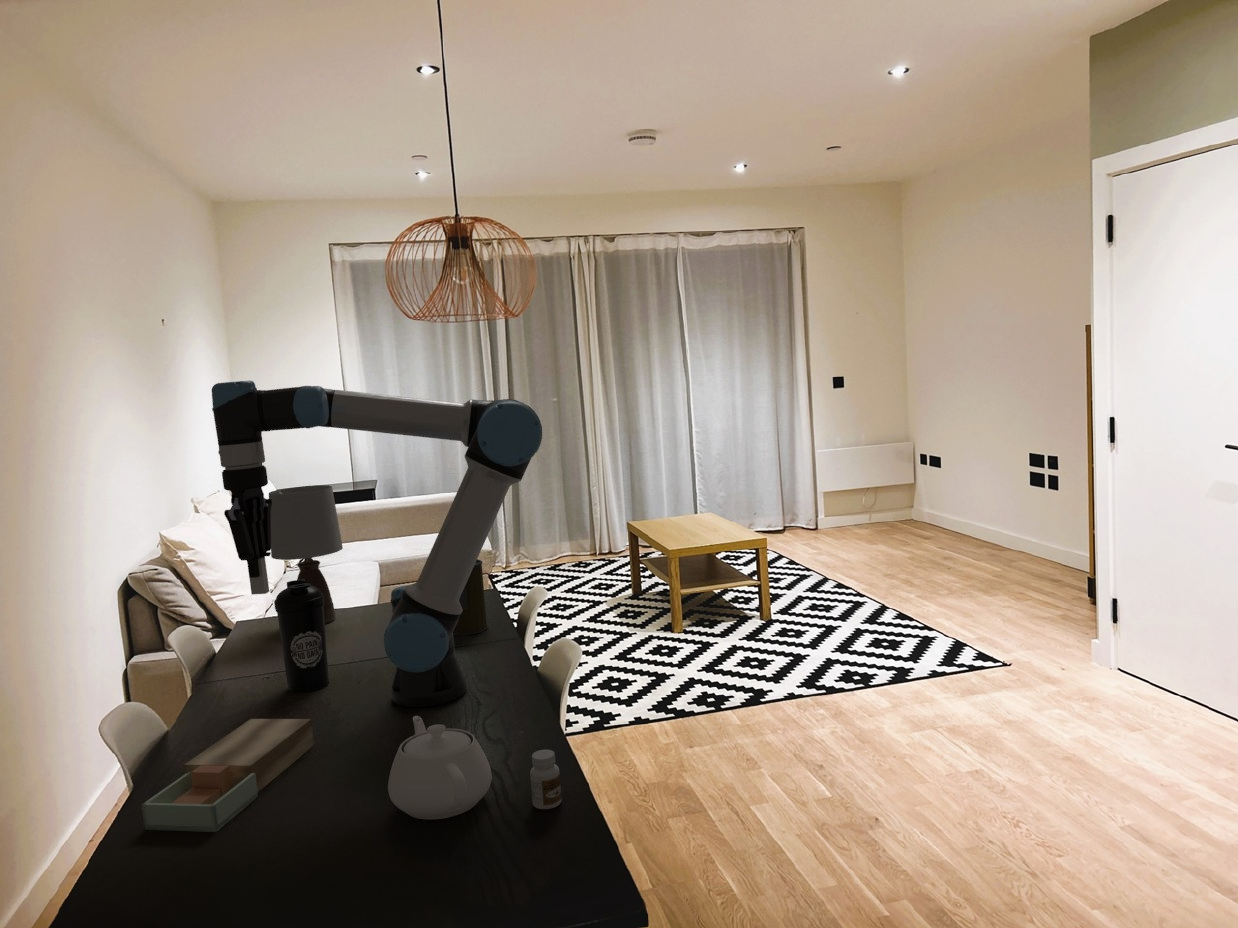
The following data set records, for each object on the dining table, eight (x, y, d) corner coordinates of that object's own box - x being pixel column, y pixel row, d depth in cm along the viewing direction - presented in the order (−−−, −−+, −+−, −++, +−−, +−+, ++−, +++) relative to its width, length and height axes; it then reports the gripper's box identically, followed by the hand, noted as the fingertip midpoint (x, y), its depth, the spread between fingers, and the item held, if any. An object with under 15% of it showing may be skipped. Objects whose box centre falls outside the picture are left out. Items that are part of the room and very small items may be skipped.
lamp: (363, 613, 257) (350, 484, 253) (317, 633, 240) (302, 494, 236) (312, 610, 265) (299, 484, 261) (264, 629, 248) (248, 495, 244)
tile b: (199, 804, 138) (201, 820, 138) (220, 788, 143) (221, 804, 143) (170, 803, 139) (172, 819, 139) (191, 788, 144) (193, 803, 144)
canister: (448, 626, 239) (441, 551, 237) (488, 622, 240) (482, 547, 238) (445, 638, 228) (438, 559, 226) (487, 633, 229) (480, 555, 227)
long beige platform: (313, 745, 166) (311, 718, 165) (254, 794, 147) (250, 765, 147) (254, 744, 168) (250, 718, 167) (187, 793, 149) (184, 764, 149)
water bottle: (287, 697, 192) (275, 591, 190) (281, 684, 201) (269, 582, 199) (337, 687, 197) (325, 582, 194) (328, 674, 206) (317, 574, 203)
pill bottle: (550, 812, 135) (546, 762, 134) (526, 806, 137) (522, 757, 136) (567, 799, 138) (563, 750, 137) (544, 794, 141) (540, 745, 140)
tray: (258, 796, 147) (255, 772, 146) (216, 831, 136) (213, 806, 135) (191, 795, 149) (188, 771, 148) (145, 829, 138) (141, 804, 138)
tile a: (229, 765, 145) (219, 772, 143) (232, 795, 146) (223, 802, 143) (200, 765, 146) (190, 772, 144) (204, 794, 147) (194, 802, 144)
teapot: (516, 821, 133) (510, 740, 132) (410, 851, 126) (403, 766, 125) (464, 760, 155) (459, 690, 154) (372, 783, 148) (366, 710, 147)
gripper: (242, 463, 173) (259, 585, 175) (204, 472, 160) (222, 603, 162) (280, 460, 172) (296, 583, 174) (244, 469, 159) (262, 601, 162)
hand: (260, 592), depth 168 cm, fingers closed
